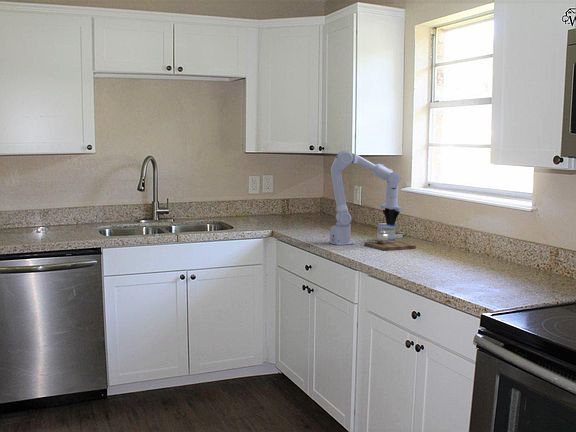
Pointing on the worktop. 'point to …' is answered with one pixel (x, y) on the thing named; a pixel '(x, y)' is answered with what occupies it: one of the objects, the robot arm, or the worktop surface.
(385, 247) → the stand
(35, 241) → the worktop surface
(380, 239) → the ball-knob lever
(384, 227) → the medicine box
